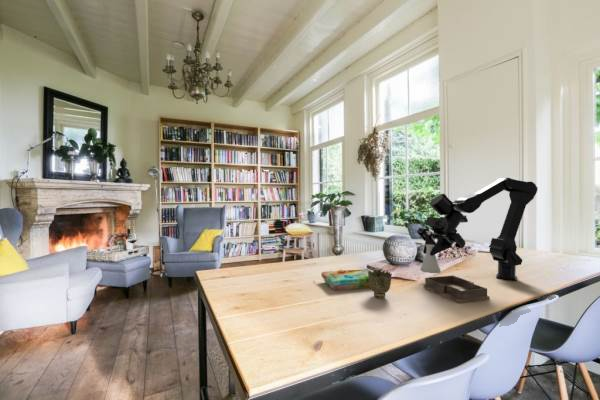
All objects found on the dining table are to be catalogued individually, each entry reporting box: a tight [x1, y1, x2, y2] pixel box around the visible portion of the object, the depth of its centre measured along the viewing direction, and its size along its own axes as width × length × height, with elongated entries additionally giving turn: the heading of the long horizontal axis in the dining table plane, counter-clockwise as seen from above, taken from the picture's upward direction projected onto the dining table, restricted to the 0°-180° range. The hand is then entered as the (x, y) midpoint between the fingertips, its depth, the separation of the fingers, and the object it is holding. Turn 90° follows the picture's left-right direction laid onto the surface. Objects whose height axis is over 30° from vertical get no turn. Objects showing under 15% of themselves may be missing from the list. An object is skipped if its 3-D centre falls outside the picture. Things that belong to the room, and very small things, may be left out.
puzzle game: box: [321, 268, 374, 291], centre depth 105 cm, size 12×5×20 cm
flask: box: [420, 244, 441, 274], centre depth 107 cm, size 7×7×10 cm
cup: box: [368, 269, 393, 299], centre depth 93 cm, size 8×7×8 cm
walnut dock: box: [424, 274, 491, 304], centre depth 96 cm, size 15×12×4 cm
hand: (427, 254), depth 107 cm, fingers closed on flask, 3 cm apart
